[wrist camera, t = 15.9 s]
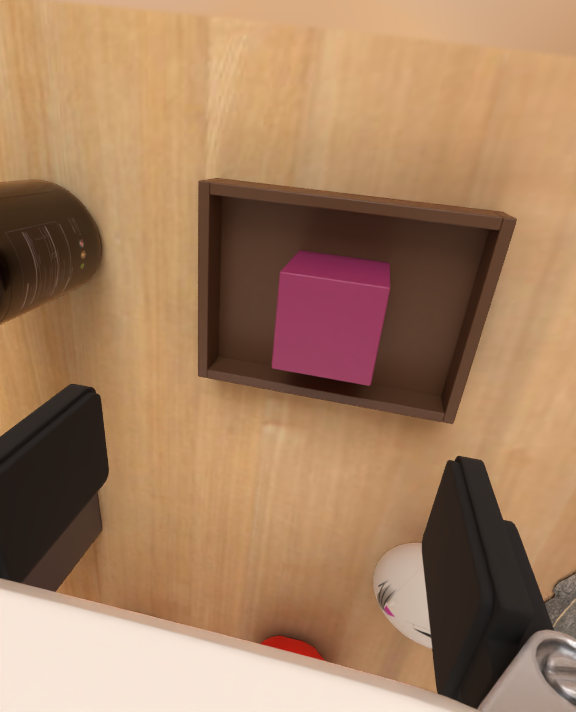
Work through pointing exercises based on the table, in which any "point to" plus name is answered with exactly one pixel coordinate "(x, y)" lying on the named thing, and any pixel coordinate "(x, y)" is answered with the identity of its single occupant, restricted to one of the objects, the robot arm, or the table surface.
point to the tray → (358, 240)
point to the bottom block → (67, 549)
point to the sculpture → (564, 607)
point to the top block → (330, 316)
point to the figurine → (404, 591)
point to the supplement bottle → (42, 245)
